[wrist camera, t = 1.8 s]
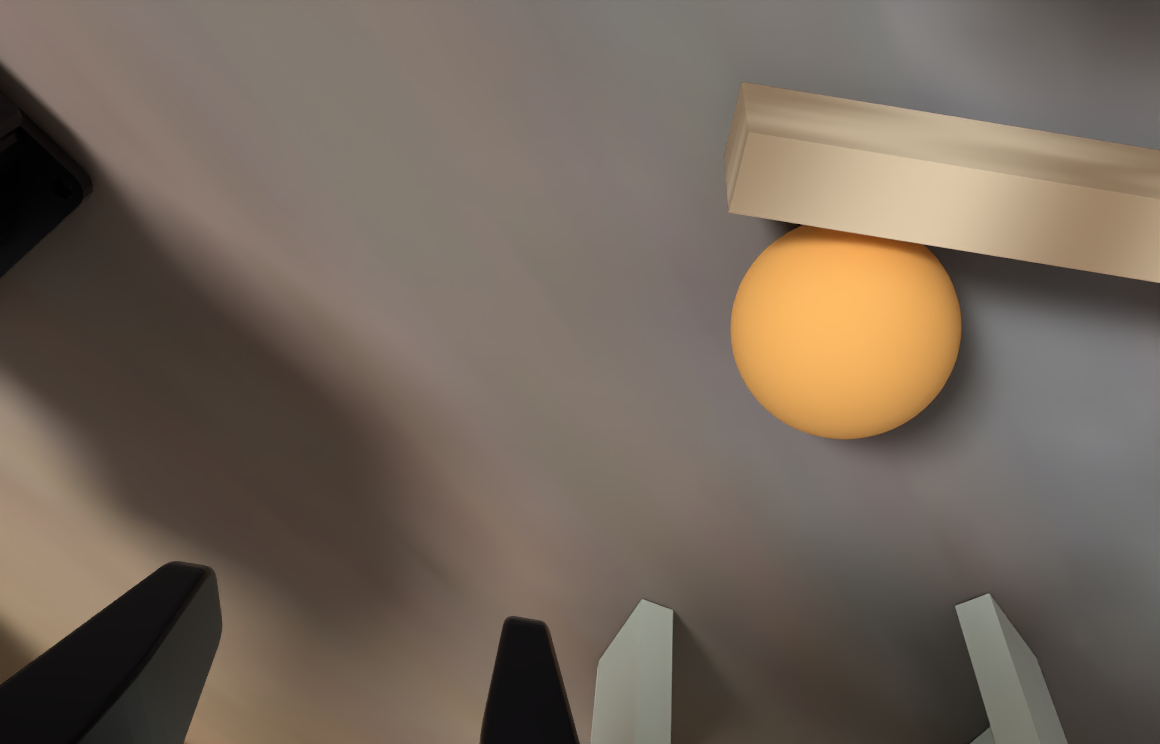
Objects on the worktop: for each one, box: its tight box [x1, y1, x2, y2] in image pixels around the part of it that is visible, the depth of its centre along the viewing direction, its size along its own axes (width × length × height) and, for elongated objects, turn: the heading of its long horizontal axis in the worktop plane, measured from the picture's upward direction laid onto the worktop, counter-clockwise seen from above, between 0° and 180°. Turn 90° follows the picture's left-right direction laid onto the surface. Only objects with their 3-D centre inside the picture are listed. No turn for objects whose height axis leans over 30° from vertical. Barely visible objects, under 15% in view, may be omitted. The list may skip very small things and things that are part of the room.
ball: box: [731, 225, 962, 439], centre depth 19 cm, size 4×4×4 cm
